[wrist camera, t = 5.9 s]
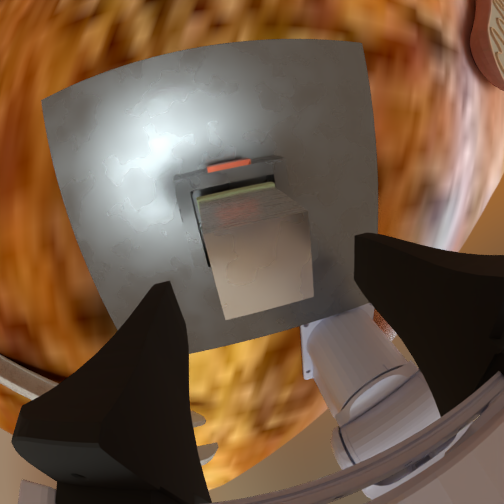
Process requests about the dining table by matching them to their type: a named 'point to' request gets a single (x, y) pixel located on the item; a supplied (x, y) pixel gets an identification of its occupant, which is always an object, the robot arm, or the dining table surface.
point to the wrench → (38, 385)
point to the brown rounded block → (489, 40)
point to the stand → (217, 170)
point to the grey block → (257, 248)
